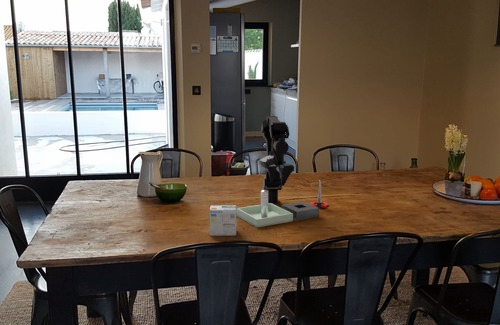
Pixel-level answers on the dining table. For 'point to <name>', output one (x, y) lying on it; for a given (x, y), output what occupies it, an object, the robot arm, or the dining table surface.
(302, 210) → the hitch block
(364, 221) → the dining table surface
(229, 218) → the light bulb box
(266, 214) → the pin
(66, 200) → the dining table surface
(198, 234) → the dining table surface
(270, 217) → the tray
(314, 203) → the tow hook
